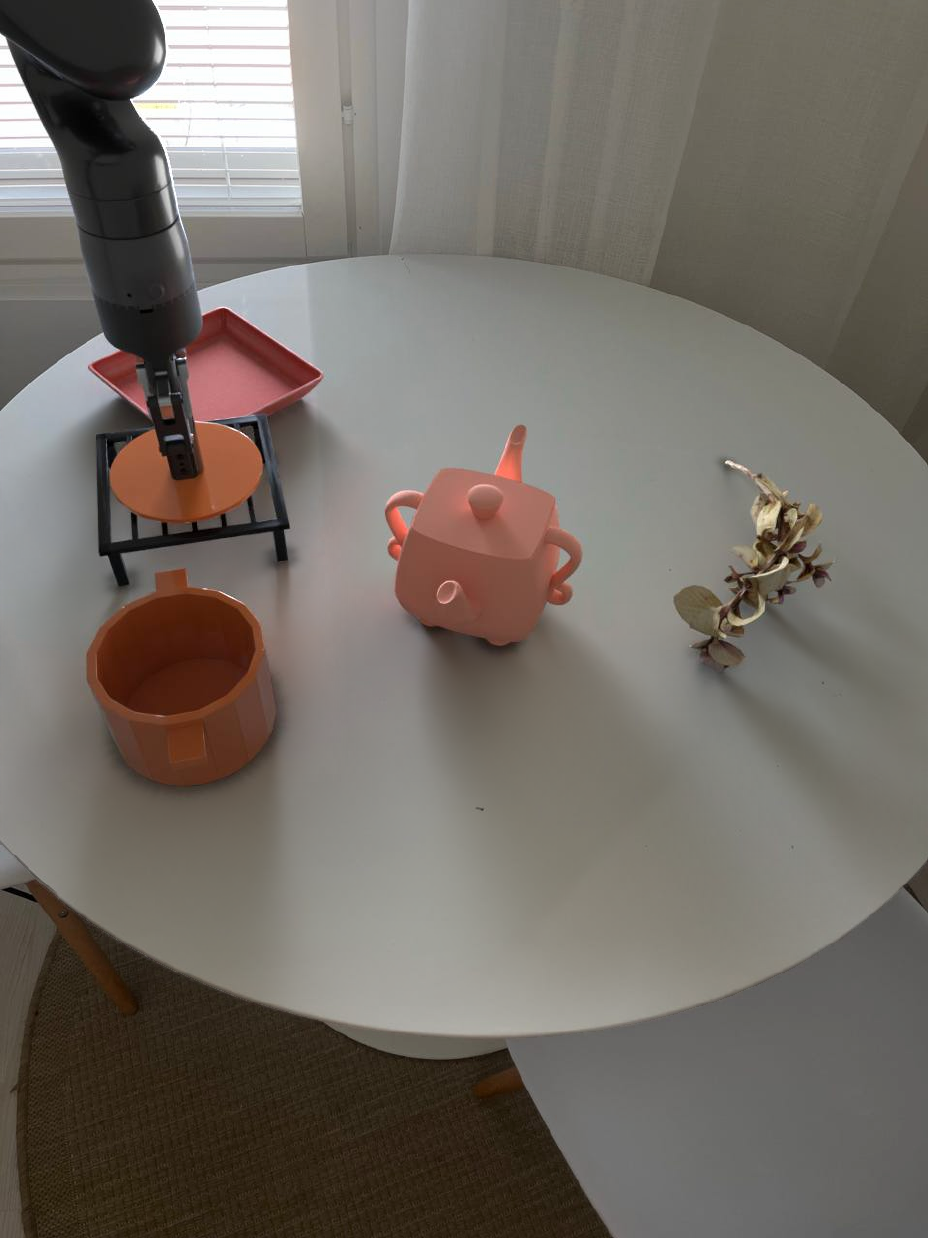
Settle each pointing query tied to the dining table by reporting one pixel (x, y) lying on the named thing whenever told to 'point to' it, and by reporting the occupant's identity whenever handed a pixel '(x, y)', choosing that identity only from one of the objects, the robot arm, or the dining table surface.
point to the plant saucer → (224, 371)
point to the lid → (218, 488)
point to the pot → (183, 683)
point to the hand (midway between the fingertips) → (182, 450)
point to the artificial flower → (726, 619)
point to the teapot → (481, 550)
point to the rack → (115, 549)
